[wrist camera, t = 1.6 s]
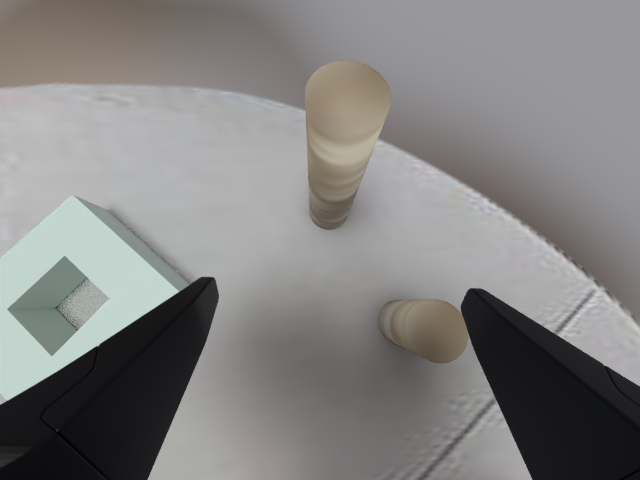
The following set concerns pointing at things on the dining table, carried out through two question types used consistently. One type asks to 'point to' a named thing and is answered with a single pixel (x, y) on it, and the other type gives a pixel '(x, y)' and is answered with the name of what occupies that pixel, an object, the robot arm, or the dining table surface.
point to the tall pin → (341, 135)
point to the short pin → (425, 328)
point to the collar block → (61, 279)
